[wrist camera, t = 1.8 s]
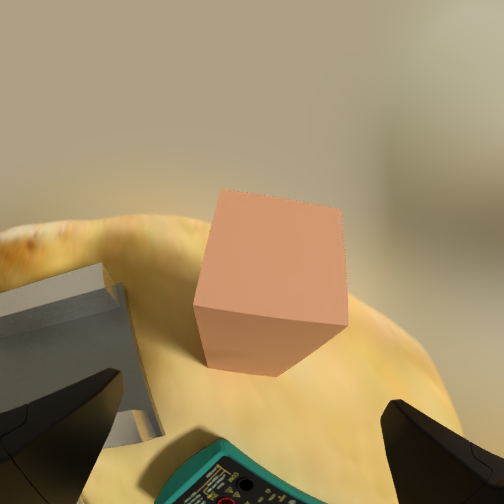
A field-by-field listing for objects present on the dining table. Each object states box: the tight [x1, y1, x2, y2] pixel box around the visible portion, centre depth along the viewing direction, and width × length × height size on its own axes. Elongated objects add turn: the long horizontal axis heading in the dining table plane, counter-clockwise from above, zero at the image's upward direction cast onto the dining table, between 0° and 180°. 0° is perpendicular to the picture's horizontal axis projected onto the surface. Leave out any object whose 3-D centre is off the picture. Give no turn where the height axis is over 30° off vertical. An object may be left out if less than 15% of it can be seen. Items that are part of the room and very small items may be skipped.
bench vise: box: [0, 262, 165, 504], centre depth 13 cm, size 20×16×4 cm
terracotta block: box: [193, 189, 348, 377], centre depth 15 cm, size 5×5×12 cm
